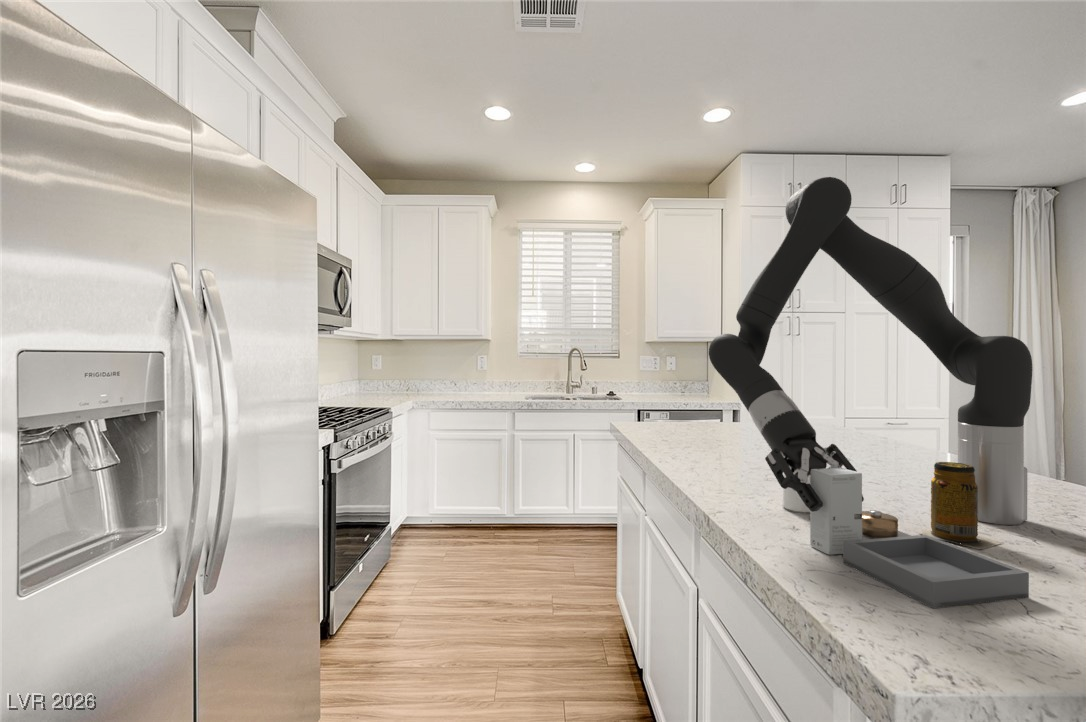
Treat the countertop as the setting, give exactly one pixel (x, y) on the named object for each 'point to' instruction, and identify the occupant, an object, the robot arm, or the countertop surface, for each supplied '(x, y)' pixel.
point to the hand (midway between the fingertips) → (838, 506)
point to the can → (794, 499)
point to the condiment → (956, 506)
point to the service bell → (879, 525)
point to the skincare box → (836, 509)
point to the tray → (936, 571)
